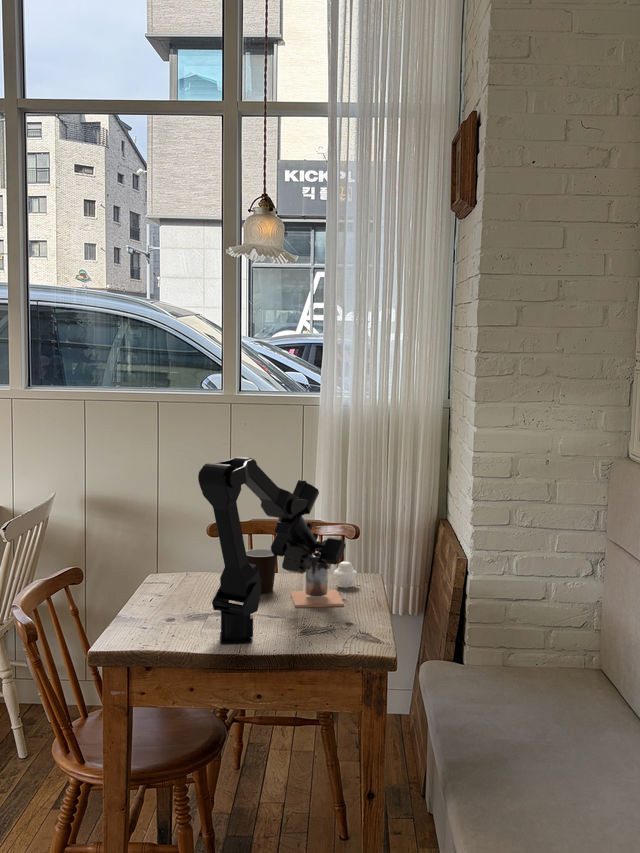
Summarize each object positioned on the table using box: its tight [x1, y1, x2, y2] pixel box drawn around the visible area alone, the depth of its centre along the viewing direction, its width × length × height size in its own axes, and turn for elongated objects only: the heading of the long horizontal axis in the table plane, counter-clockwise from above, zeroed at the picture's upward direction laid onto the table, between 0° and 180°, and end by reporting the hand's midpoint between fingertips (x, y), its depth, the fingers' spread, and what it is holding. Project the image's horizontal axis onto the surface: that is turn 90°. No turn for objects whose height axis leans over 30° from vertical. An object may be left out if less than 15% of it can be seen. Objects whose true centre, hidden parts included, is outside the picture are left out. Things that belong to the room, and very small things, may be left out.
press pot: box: [304, 551, 329, 596], centre depth 208 cm, size 6×6×10 cm
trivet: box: [290, 589, 345, 609], centre depth 209 cm, size 12×12×1 cm
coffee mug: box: [245, 548, 278, 595], centre depth 217 cm, size 12×9×10 cm
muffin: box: [333, 560, 358, 588], centre depth 220 cm, size 6×6×7 cm
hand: (319, 565), depth 209 cm, fingers closed on press pot, 5 cm apart
